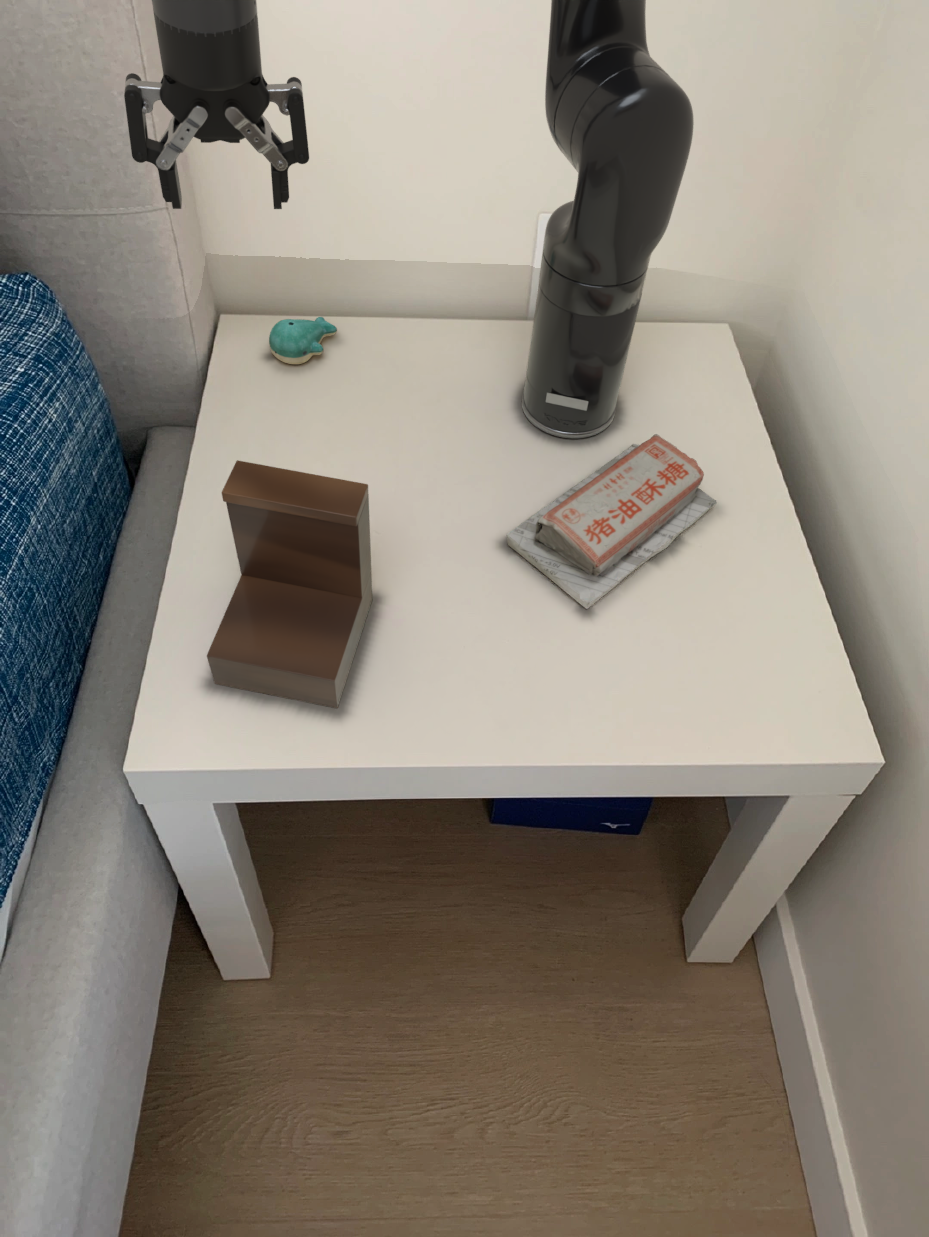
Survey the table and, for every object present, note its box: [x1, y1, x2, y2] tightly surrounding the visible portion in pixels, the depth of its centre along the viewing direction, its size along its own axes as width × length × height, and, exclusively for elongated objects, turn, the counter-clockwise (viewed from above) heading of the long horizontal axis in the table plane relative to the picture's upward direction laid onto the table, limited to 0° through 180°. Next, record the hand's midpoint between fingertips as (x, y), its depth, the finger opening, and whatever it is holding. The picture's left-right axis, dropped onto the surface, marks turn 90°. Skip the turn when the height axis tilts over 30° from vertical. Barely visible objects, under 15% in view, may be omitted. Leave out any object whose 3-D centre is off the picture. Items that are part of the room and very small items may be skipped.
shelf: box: [206, 460, 373, 709], centre depth 74 cm, size 11×10×14 cm
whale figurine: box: [268, 316, 338, 365], centre depth 100 cm, size 6×7×4 cm
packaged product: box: [506, 433, 718, 610], centre depth 87 cm, size 18×5×10 cm
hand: (228, 204), depth 85 cm, fingers open, 8 cm apart
